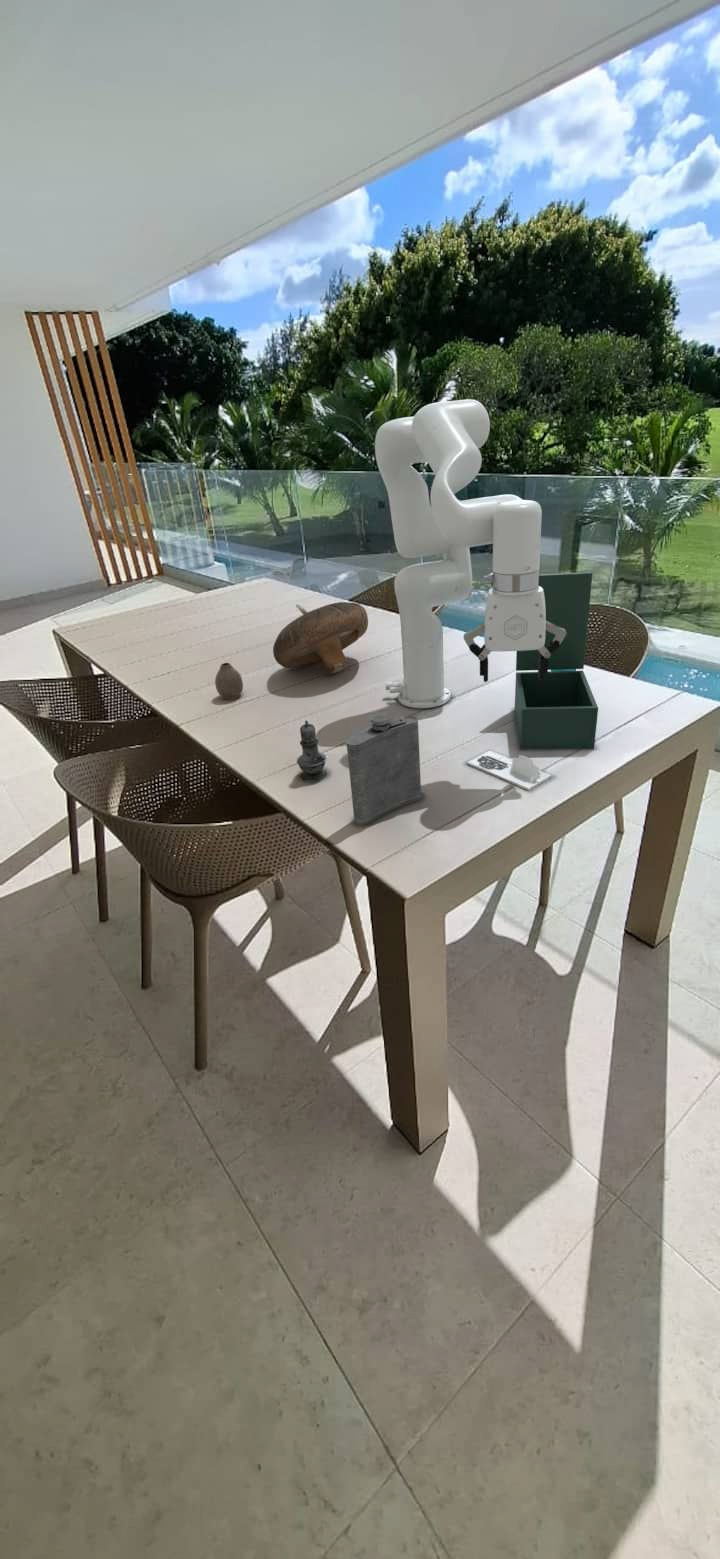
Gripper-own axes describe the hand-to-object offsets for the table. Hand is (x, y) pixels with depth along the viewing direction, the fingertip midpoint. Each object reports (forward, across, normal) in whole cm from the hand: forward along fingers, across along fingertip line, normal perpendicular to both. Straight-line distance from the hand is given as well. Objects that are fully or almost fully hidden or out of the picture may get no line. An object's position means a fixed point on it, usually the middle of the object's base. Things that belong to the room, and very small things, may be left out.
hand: (513, 678), depth 120 cm
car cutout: (+19, 0, 0) cm, 19 cm away
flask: (+19, -22, -14) cm, 32 cm away
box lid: (-1, +10, +27) cm, 29 cm away
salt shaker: (+19, -38, -2) cm, 43 cm away
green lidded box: (+18, +10, +18) cm, 28 cm away
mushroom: (+18, -46, +56) cm, 75 cm away
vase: (+18, -68, +40) cm, 81 cm away
